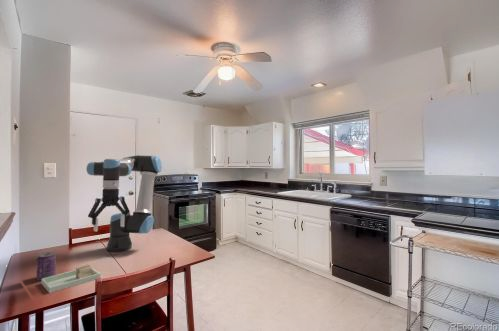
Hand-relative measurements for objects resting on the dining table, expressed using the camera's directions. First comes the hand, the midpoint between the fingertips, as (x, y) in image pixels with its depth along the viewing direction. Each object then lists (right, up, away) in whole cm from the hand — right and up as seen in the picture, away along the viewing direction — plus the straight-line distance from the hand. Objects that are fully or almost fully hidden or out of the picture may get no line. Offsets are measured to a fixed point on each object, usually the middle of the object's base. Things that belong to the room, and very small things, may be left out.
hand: (109, 228), depth 134 cm
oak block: (-7, -22, -9) cm, 25 cm away
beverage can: (-25, -22, -11) cm, 35 cm away
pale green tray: (-11, -22, -13) cm, 28 cm away
